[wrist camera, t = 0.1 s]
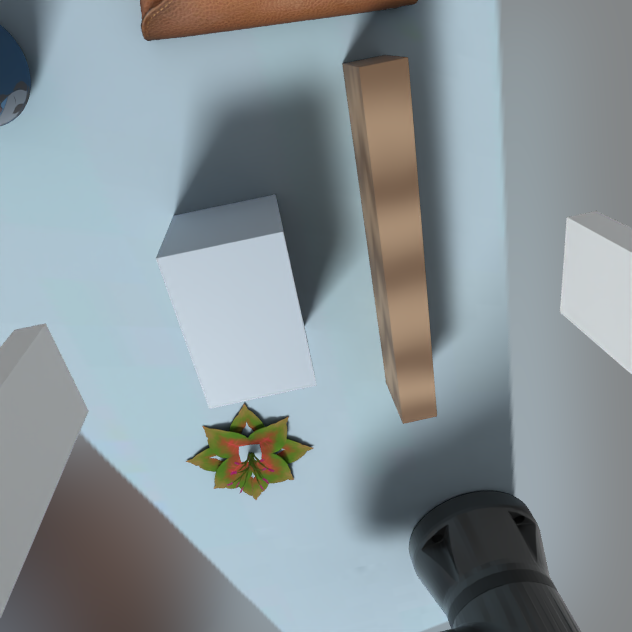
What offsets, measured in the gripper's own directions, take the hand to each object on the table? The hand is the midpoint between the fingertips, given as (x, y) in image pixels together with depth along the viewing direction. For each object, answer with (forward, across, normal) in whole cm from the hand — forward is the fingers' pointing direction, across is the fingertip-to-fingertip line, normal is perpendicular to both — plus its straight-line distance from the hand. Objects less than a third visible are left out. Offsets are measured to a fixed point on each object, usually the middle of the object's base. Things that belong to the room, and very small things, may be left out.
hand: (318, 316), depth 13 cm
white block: (+28, +4, +10) cm, 30 cm away
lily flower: (+29, +8, +29) cm, 42 cm away
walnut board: (+28, -8, +10) cm, 31 cm away
